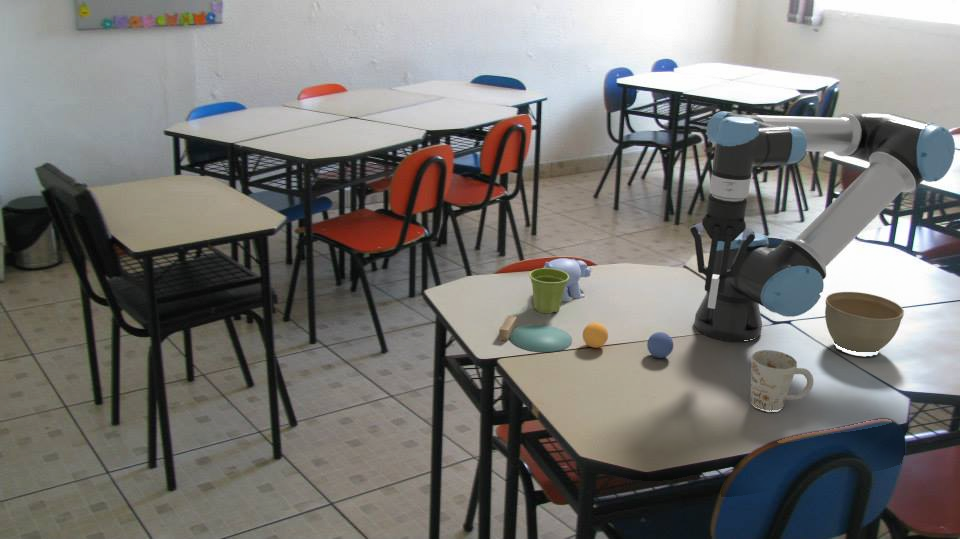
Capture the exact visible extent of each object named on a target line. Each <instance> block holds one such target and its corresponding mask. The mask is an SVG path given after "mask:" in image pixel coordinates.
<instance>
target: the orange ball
mask: <svg viewBox="0 0 960 539" xmlns="http://www.w3.org/2000/svg"><path fill="white" fill-rule="evenodd" d="M608 338H609V332H608V330H607V328H606V326H605V325H604V324H602V323H601V322H595V321H594V322H591V323H588V324H587V325H586V326H585V327H584V329H583V331H582V339H583V342H584V343H585V344H586V345H587V346H588V347H590V348H592V349H597V348H601V347H603V346H604V345H606V343H607V341H608Z"/></svg>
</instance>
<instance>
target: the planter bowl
mask: <svg viewBox="0 0 960 539" xmlns="http://www.w3.org/2000/svg"><path fill="white" fill-rule="evenodd" d="M903 308H904V307H902V306H901V305H899V303H897V302H895V301H893V300H891V299H888V298H886V297H883V296H881V295H880V296H879V295H877V294H876V295H875V294H872V293H867V292H866V293H865V292H860V291H859V292H858V291H839V292H833V293H831V294H828V295H827V296H826V297H825V310H824V311H825V312H824V314H825V323H826V327H827V331H828V333H829V335H830V337H831V338H832V341H834V343H835V344H837V345H838V346H840V347H842V348H845V349H847V350H851V351H856V352H876V351H879V350H880V351H881V349H883V348H884V347H886V346H887V345H888V344H889V343H890V341H891V340H892V339H893V338H894V337H895V336H896V334H897V332H898V331H899V328H900V325H901V321H902V319H903V317H904V314H905V310H904V309H903ZM880 351H879V352H880Z"/></svg>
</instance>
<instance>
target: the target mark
mask: <svg viewBox="0 0 960 539" xmlns="http://www.w3.org/2000/svg"><path fill="white" fill-rule="evenodd" d="M509 341H510V342H511V343H512V344H513V345H515V346H516V347H519V348H520V349H523V350H527V351H530V352H538V353H539V352H540V353H553V352H559V351H562V350H565V349H567V348H569V347H570V346H571V345H572V343H573V337H572V335H570V334H569V333H568V332H567V331H565V330H564V329H562V328H559V327H556V326H552V325H547V324H546V325H545V324H526V325H525V324H524V325H520V326H518V327H517V326H516V328H515V329H514V330H513V332H512V334H511V336H510V337H509Z"/></svg>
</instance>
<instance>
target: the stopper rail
mask: <svg viewBox="0 0 960 539" xmlns="http://www.w3.org/2000/svg"><path fill="white" fill-rule="evenodd" d="M515 328H517V316H513V315H507V317H506V318H505V319H504V322H503V323H502V325H501V326H500V328H499V330H498V331H499V333H498V340H499V341H500V340H501V341H506V342H508V341H510V339H509V337H510V336H511V334H512V332H513V330H514V329H515Z"/></svg>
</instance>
